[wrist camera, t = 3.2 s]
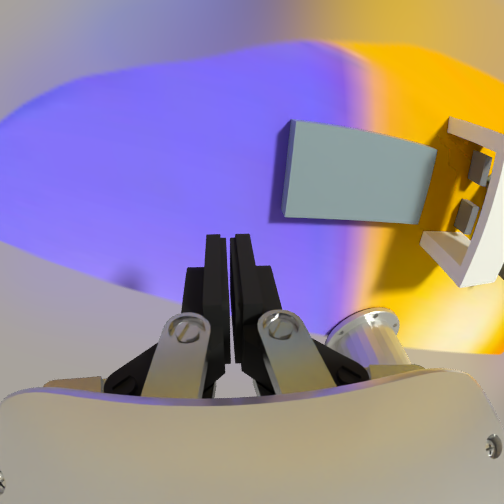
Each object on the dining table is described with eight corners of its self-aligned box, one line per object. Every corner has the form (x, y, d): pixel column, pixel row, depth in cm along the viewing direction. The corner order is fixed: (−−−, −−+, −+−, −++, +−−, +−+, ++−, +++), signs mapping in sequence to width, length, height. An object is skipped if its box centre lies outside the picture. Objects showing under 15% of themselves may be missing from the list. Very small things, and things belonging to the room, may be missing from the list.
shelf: (456, 244, 33) (494, 281, 25) (419, 244, 32) (459, 287, 24) (486, 132, 24) (537, 154, 16) (449, 116, 23) (508, 136, 15)
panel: (407, 215, 30) (417, 224, 28) (280, 207, 28) (284, 217, 26) (424, 144, 25) (437, 149, 23) (289, 118, 24) (296, 121, 21)
